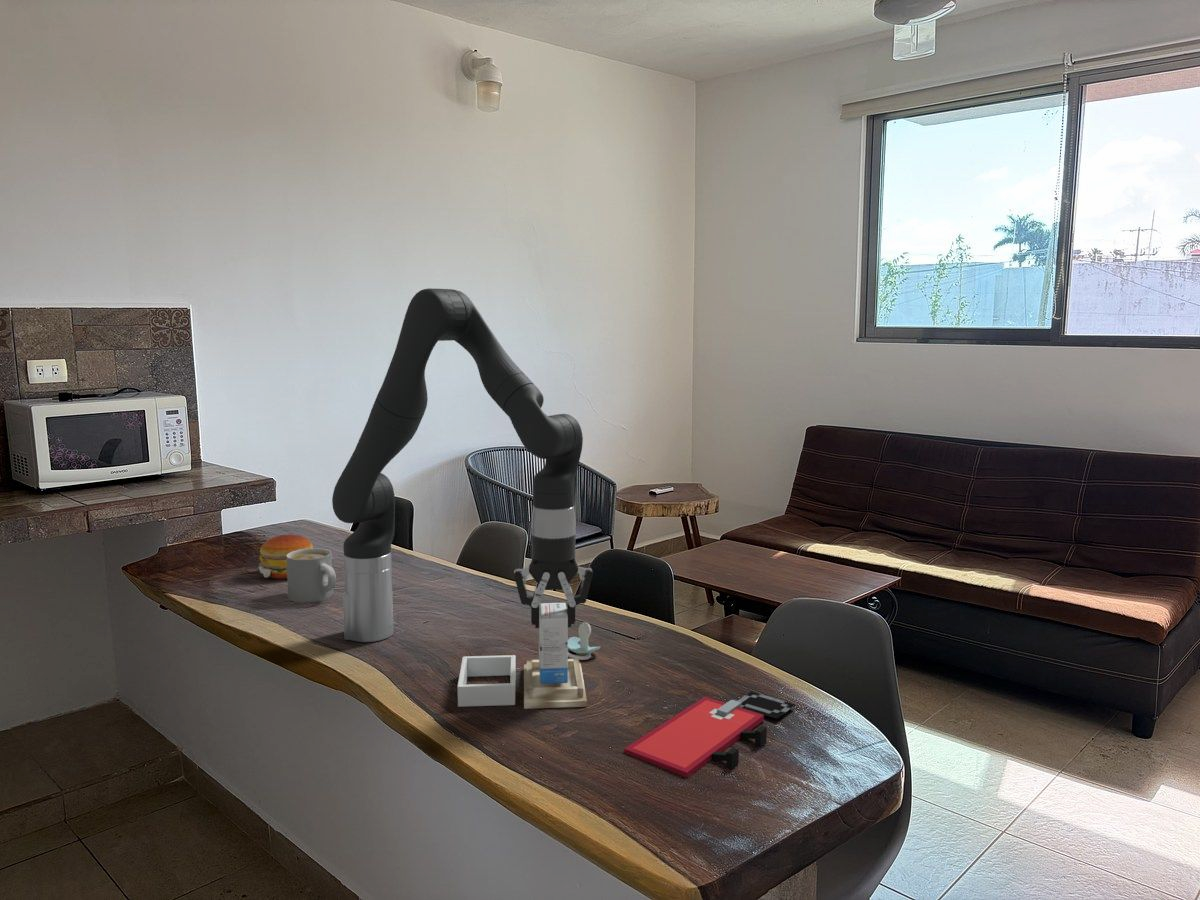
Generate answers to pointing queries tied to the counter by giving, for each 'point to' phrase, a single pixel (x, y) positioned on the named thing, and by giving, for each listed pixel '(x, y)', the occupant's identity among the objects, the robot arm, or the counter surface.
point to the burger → (280, 554)
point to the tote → (487, 692)
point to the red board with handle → (707, 733)
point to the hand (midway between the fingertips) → (553, 625)
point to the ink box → (553, 643)
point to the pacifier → (581, 643)
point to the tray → (554, 688)
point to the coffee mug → (310, 575)
